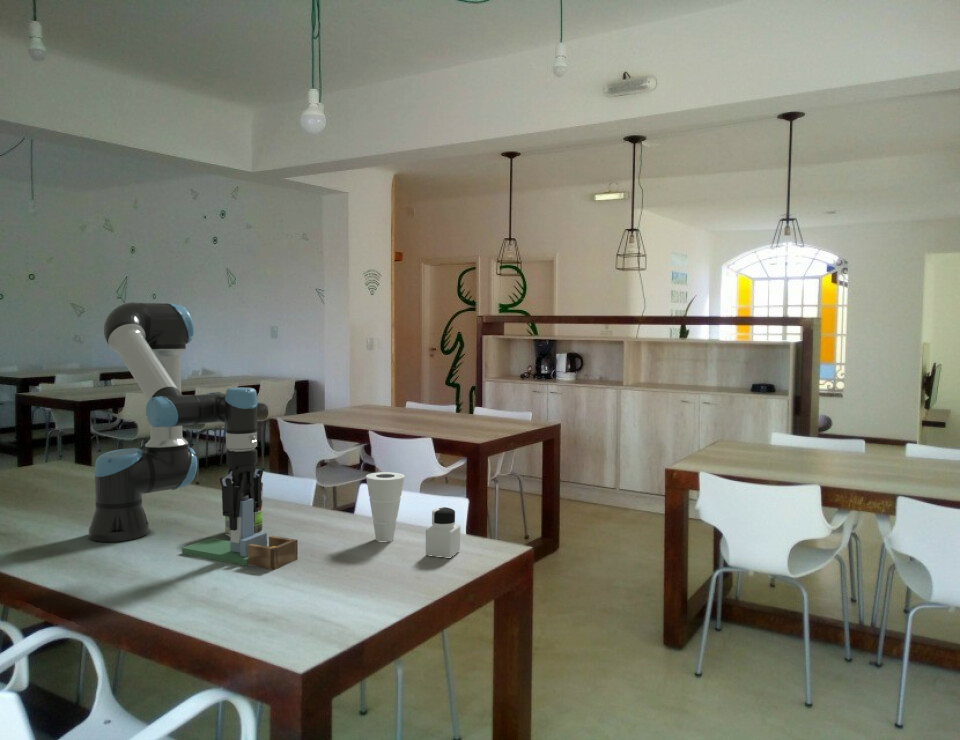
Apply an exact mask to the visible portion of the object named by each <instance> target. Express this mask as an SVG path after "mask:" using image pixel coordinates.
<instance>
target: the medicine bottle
mask: <svg viewBox="0 0 960 740" xmlns="http://www.w3.org/2000/svg"><path fill="white" fill-rule="evenodd" d="M459 550H460V551H461V525H459V524H456V511H455V509H453V508H451V507H443V506H442V507H441V506H440V507H435V508H434V509H433V510H431V525H430V526H429V527H428V528H426V529H425V556H426V555H432V556H442V557H452V556H453V555H454V554H456V553H457V552H458V551H459ZM458 553H459V552H458ZM458 553H457V554H458ZM457 554H456V555H457ZM453 557H454V556H453ZM453 557H452V558H453Z"/></svg>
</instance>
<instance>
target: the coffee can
mask: <svg viewBox="0 0 960 740" xmlns="http://www.w3.org/2000/svg"><path fill="white" fill-rule="evenodd" d="M236 487H239V486H236ZM263 487H264V483H263V482H262V481H261V507H260V508H257V509H259V510H258V512H255V523H254V535H255V534H258V533H261V532H264V529H263ZM242 494H243V490H242ZM255 503H257V502H255ZM224 517H225V518H224V523H225V525H224V526H225V528H224V529H225V531H224V532H225V533H224V535H225V536H227V537H229V538H230V528H229V517H227V516H224Z"/></svg>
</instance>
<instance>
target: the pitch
mask: <svg viewBox="0 0 960 740" xmlns="http://www.w3.org/2000/svg"><path fill="white" fill-rule="evenodd" d="M181 554H182V555H188V556H192V557H199V558H204V559H210V560H213V561H221V562H226V563H231V564H236V565H241V566H249V565H248V556H246V557H243V556H240V553H239V552H233V551H230V540H225V539H220V538H219V539H217V538H215V537H214V538H213V537H210V538H207V539H203V540H201V541H198V542H196V543H191V544H189V545H187V546H186V545H185V546H183V547H182V548H181Z"/></svg>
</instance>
